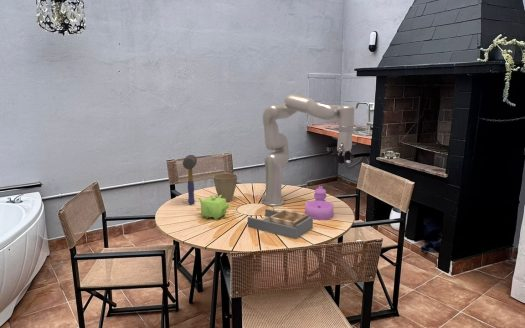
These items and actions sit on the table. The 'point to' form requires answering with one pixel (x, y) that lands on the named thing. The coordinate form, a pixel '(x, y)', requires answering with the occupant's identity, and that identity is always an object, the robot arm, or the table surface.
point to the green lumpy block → (213, 207)
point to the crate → (288, 218)
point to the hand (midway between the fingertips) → (344, 161)
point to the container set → (319, 206)
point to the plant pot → (225, 185)
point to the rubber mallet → (190, 176)
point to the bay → (280, 225)
